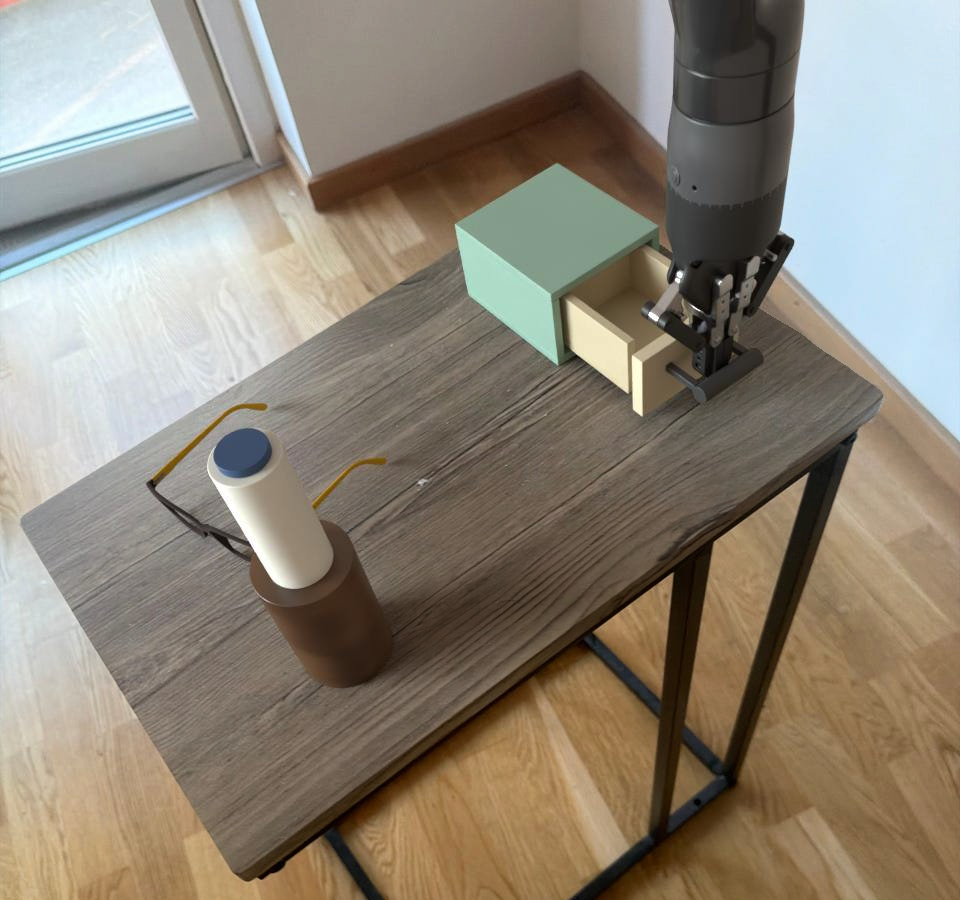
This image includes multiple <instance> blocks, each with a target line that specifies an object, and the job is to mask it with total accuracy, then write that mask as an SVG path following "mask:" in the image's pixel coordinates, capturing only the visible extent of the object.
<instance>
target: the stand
mask: <svg viewBox="0 0 960 900" xmlns="http://www.w3.org/2000/svg"><path fill="white" fill-rule="evenodd" d="M318 519H319V521H320V523H321V525H322V527H323V530H324V532H325V534H326V536H327V538H328V540H329V542H330V544H331V546H332V549H333V562H332V565H331V567H330V569H329V571H328V572H327V573H326V574H325V576H324V577H323V578H321V579H320V580H319V581H317V582H316V583H314V584H312V585H310V586H307V587H304V588H299V589H289V588H285V587H282V586H280V585H278V584H276V583H275V582H274V581H273V580H272V579H271V577H270V575H269V574H268V572H267V570H266V569H265V567H264V565H263V564H262V562H261V560H260V559H259V557H258V555H257V554H256V552H255V551H254V553H253V555H252V557H251V558H252V559H251V562H249V568H248V569H249V570H248V573H249V576H248V577H249V580H250V584H251V586H252V589H253V590H254V592H255V593H256V595H257V597H258V598H259V600H260V601H261V603H262V605H263V606H264V608H265V609H266V610H267V611H266V612H268V614H269V615H270V617H271V618H272V620H273V621H274V623H275V625H276V627H277V628H278V630H279V631H280V633H281V634H282V636H283V637H284V639H285V640H286V642H287V644H288V645H289V647H290V649H291V650H292V651H293V653H294V654H295V656H296V657H297V659H298V661H299V662H300V664H301V666H302V667H303V668H304V670H305V672H306V673H307V675H309V677H310V678H311V679H312V680H314V681H315V682H317V683H318V684H320V685H323V686H325V687H329V688H335V689H345V688H351V687H355V686H358V685H361V684H364V683H365V682H367V681H368V680H370V679H372V678H373V677H375V676H376V675H377V674H378V673H379V672H380V671H381V670H382V669H383V668H384V666H385V665H386V663H387V661H388V660H389V657H390V656H391V653H392V650H393V633H392V629H391V627H390V625H389V622H388V620H387V618H386V616H385V614H384V611H383V609H382V607H381V605H380V602H379V599H378V598H377V596H376V594H375V591H374V589H373V586H372V584H371V583H370V580H369V578H368V575H367V573H366V571H365V569H364V567H363V564H362V562H361V560H360V558H359V556H358V553H357V551H356V549H355V547H354V544H353V542H352V539H351V538H350V536H349V534H348V533H347V532H346V531H345V530H344V529H343V528H342V527H341V526H339V525H338V524H335V523H334V522H331V521H329V520H325V519H321V518H318Z"/></svg>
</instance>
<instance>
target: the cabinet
mask: <svg viewBox="0 0 960 900" xmlns="http://www.w3.org/2000/svg"><path fill="white" fill-rule="evenodd" d="M454 227H455V234H456V240H457V244H458V250H459V255H460V259H461V264H462V265H461V266H462V270H463V275H464V279H465V285H466V289H467V295H468V296H469V297H470V298H471V299H473V300H474V301H475V302H476V303H477V304H479V305H480V306H482V307H483V308H484V309H486V310H487V311H488V312H489V313H491V314H492V315H493V316H494V317H495V318H497V319H498V320H499V321H500V322H502V323H503V324H504V325H506V326H507V327H508V328H510V330H512V331H513V332H514V333H516V334H517V335H518V336H520V337H521V338H522V339H523V340H525V342H527V343H528V344H530V345H531V346H532V347H534V348H535V349H536V350H537V351H538V352H539V353H541V354H542V355H543V356H545V357H546V358H547V359H549V360H550V361H551V362H552V363H554V364H555V365H556V366H558V367H559V366H561V365H563V364H564V363H566V362H567V361H569V360H570V359H572V358H573V357H575V356H576V355H577V354H576V353H574V352H573V351H572V350H571V349H569V348H568V347H567V346H565V345H564V344H563V335H562V324H561V314H560V304H559V298H560V297H561V296H563V295H564V294H566V293H568V292H569V291H571V290H572V289H574V288H575V287H577V286H579V285H580V284H582V283H583V282H585V281H586V280H588V279H590V278H591V277H593V276H594V275H596V274H597V273H599V272H601V271H602V270H604V269H605V268H607V267H608V266H610V265H612V264H613V263H615V262H616V261H618V260H619V259H621V258H623V257H624V256H626V255H627V254H629V253H630V252H632V251H634V250H635V249H637V248H638V247H640V246H641V245H643V244H646V245H648V246H649V247H651V248H652V249H654V250H656V251H657V252H659V253H660V226H659V225H658V224H657V223H654V222H653V221H651V220H650V219H648V218H647V217H645V216H643V215H642V214H640V213H638V211H636V210H634V209H633V208H631V207H629V206H627V204H625V203H623V202H621V201H619V200H618V199H616V198H614V197H613V196H611V195H610V194H608V193H607V192H605V191H603V190H602V189H601V188H598V187H597V186H596V185H593V184H592V183H591V182H589V181H587V180H586V179H584V178H582V177H580V175H577V174H576V173H574V172H572V170H570V169H568V168H567V167H564V166H563V165H562V164H560V163H558V162H556V163H554V164H552V165H551V166H550V167H548V168H546V169H544V170H543V171H541V172H539V173H538V174H536V175H534V176H533V177H531V178H530V179H527V180H526V181H524V182H523V183H521V184H520V185H518V186H516V187H514V188H512V189H511V190H509V191H508V192H506V193H504V194H502V195H501V196H499V197H498V198H496V199H494V200H493V201H491V202H489V203H487V204H486V205H484V206H483V207H481V208H479V209H478V210H476V211H474V212H472V213H471V214H469V215H468V216H466V217H464V218H463V219H460V220H459V221H458V222H455V223H454Z"/></svg>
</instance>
